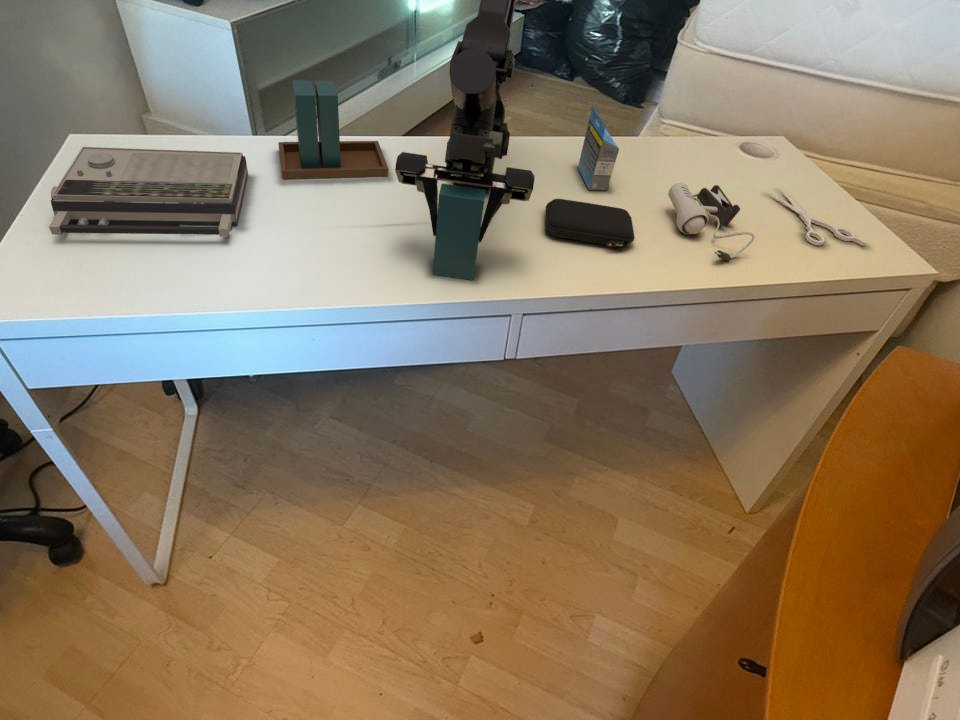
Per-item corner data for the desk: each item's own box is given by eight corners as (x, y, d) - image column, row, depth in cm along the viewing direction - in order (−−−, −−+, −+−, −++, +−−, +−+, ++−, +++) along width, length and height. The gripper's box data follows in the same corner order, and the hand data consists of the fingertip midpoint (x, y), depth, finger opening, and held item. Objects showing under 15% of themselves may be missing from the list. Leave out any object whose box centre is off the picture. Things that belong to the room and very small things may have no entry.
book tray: (378, 151, 114) (378, 140, 113) (388, 179, 107) (388, 168, 106) (279, 153, 109) (278, 141, 108) (283, 182, 102) (281, 171, 101)
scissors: (821, 247, 107) (751, 188, 119) (819, 251, 107) (750, 192, 120) (867, 242, 110) (794, 185, 123) (864, 246, 110) (792, 189, 123)
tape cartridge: (608, 191, 114) (627, 126, 105) (588, 190, 113) (605, 125, 105) (595, 168, 120) (611, 105, 111) (576, 167, 119) (591, 104, 111)
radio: (244, 146, 99) (228, 212, 85) (248, 176, 102) (234, 244, 89) (76, 139, 94) (30, 208, 80) (87, 171, 98) (45, 242, 84)
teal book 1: (317, 155, 109) (312, 80, 100) (320, 171, 105) (315, 95, 96) (299, 155, 108) (292, 80, 99) (302, 172, 104) (295, 95, 95)
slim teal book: (435, 262, 91) (441, 182, 82) (474, 267, 92) (485, 189, 83) (432, 274, 89) (438, 194, 80) (473, 280, 89) (484, 200, 80)
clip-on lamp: (749, 274, 105) (710, 200, 114) (773, 248, 100) (730, 173, 109) (691, 272, 101) (655, 195, 110) (713, 245, 96) (673, 167, 105)
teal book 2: (337, 155, 110) (334, 80, 101) (341, 171, 106) (338, 95, 97) (319, 155, 109) (314, 80, 100) (323, 171, 105) (318, 95, 96)
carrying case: (543, 242, 99) (633, 256, 99) (546, 226, 97) (638, 240, 97) (544, 209, 106) (628, 222, 107) (547, 193, 104) (633, 206, 104)
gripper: (399, 91, 77) (382, 214, 76) (546, 112, 77) (530, 235, 77) (406, 126, 88) (392, 234, 87) (535, 145, 88) (521, 252, 88)
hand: (457, 238), depth 85 cm, fingers closed on slim teal book, 6 cm apart
